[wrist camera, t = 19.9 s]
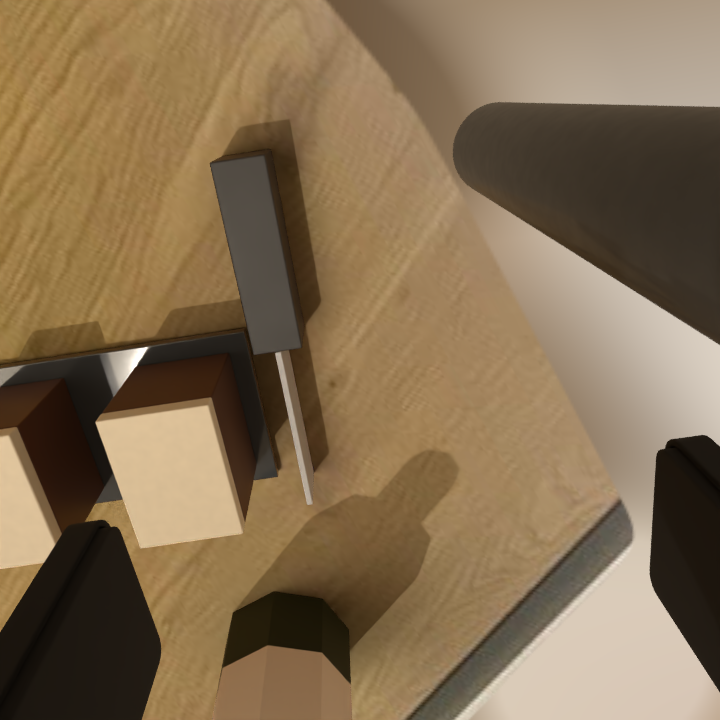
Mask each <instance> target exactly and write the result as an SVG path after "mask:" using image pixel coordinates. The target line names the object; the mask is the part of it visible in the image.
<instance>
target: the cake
mask: <svg viewBox="0 0 720 720" xmlns="http://www.w3.org/2000/svg"><path fill="white" fill-rule="evenodd" d="M96 425H97V428H98V431H99V434H100V437H101V439H102V442H103V445H104V448H105V451H106V453H107V456H108V459H109V462H110V465H111V467H112V470H113V473H114V476H115V478H116V481H117V484H118V487H119V490H120V492H121V495H122V498H123V501H124V504H125V506H126V509H127V512H128V515H129V517H130V520H131V523H132V526H133V529H134V531H135V534H136V537H137V540H138V543H139V545H140V548H148V547H154V546H161V545H168V544H175V543H182V542H189V541H196V540H202V539H209V538H216V537H223V536H230V535H237V534H243V531H244V526H245V520H246V515H247V510H248V505H249V500H250V495H251V490H252V485H253V480H254V475H255V470H256V465H257V464H256V460H255V456H254V452H253V448H252V444H251V440H250V436H249V432H248V427H247V423H246V419H245V415H244V411H243V407H242V403H241V399H240V395H239V391H238V387H237V383H236V379H235V375H234V371H233V367H232V363H231V359H230V355H229V353H224V354H218V355H211V356H204V357H198V358H191V359H184V360H178V361H171V362H164V363H158V364H151V365H144V366H138V367H135V368H134V370H133V371H132V372H131V374H130V375H129V377H128V378H127V379H126V381H125V382H124V383H123V385H122V386H121V388H120V389H119V390H118V392H117V393H116V394H115V396H114V397H113V399H112V400H111V401H110V403H109V404H108V406H107V407H106V408H105V410H104V411H103V412H102V414H101V415H100V416H99V418H98V419H97V420H96Z"/></svg>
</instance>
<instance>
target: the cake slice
mask: <svg viewBox="0 0 720 720" xmlns="http://www.w3.org/2000/svg"><path fill="white" fill-rule="evenodd" d="M103 489H104V485H103V483H102V480H101V477H100V475H99V472H98V469H97V467H96V464H95V461H94V458H93V456H92V453H91V450H90V448H89V445H88V442H87V440H86V437H85V434H84V432H83V429H82V426H81V424H80V421H79V418H78V415H77V413H76V410H75V407H74V405H73V402H72V399H71V397H70V394H69V391H68V389H67V386H66V383H65V380H64V378H59V379H53V380H46V381H40V382H33V383H26V384H20V385H13V386H7V387H0V569H5V568H12V567H19V566H25V565H32V564H39V563H44V562H45V560H46V559H47V557H48V556H49V554H50V552H51V551H52V549H53V548H54V546H55V544H56V543H57V541H58V540H59V538H60V536H61V535H62V533H63V532H64V530H65V529H66V528H67V526H68V525H71V524H76V523H83V522H85V520H86V519H87V517H88V515H89V513H90V512H91V510H92V508H93V506H94V505H95V503H96V501H97V500H98V498H99V496H100V494H101V493H102V491H103Z"/></svg>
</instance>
